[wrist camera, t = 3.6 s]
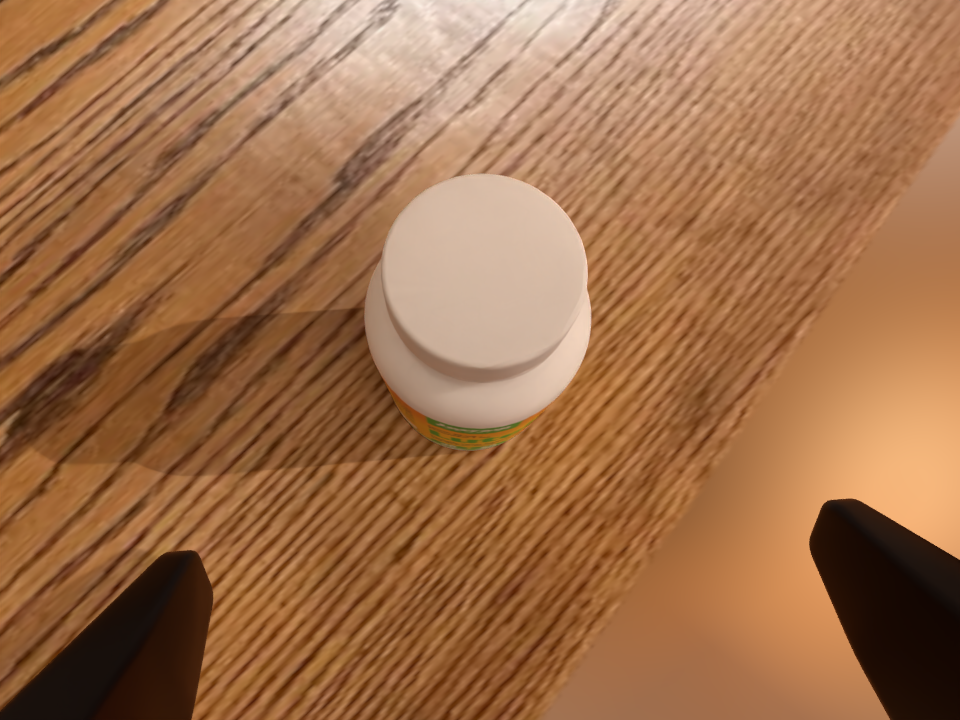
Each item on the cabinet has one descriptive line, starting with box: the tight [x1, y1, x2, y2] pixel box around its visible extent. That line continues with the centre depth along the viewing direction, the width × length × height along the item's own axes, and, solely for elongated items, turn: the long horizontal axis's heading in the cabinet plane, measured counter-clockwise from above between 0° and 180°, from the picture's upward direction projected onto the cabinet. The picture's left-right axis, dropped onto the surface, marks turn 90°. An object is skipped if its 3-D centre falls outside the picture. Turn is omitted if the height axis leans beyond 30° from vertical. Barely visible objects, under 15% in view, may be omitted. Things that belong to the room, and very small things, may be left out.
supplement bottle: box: [364, 174, 591, 450], centre depth 16 cm, size 5×5×10 cm
